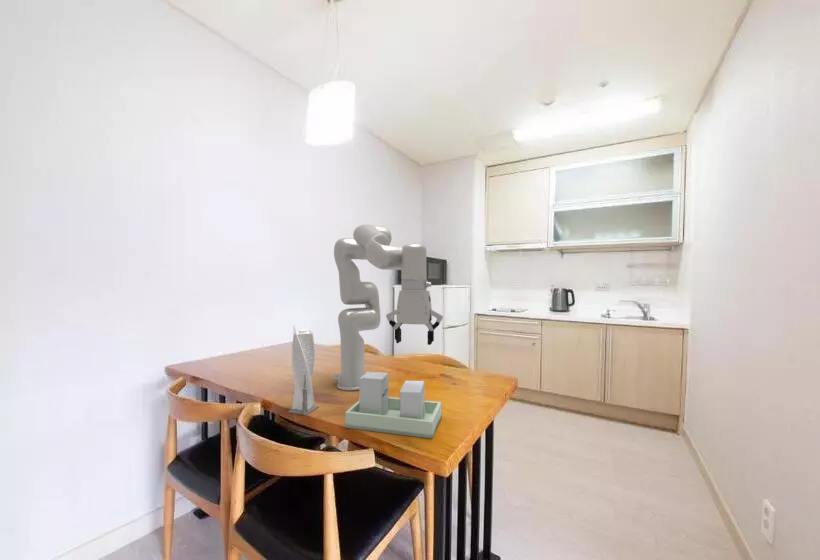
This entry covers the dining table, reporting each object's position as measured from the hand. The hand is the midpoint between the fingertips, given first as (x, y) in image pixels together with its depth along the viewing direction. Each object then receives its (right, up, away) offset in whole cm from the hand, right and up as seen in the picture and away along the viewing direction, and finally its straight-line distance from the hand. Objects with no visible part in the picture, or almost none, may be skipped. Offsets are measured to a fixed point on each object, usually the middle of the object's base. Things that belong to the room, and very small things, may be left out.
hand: (414, 343), depth 98 cm
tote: (-6, -24, +2) cm, 25 cm away
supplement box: (-12, -24, +4) cm, 27 cm away
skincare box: (0, -24, 0) cm, 24 cm away
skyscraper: (-37, -25, +12) cm, 46 cm away
